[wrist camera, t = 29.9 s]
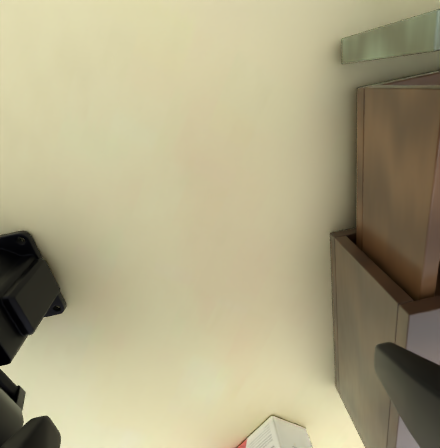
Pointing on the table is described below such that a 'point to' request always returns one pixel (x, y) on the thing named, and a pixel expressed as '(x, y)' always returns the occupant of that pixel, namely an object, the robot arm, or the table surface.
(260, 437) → the ink cartridge box
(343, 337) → the cabinet
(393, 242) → the drawer
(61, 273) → the table surface
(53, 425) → the robot arm
